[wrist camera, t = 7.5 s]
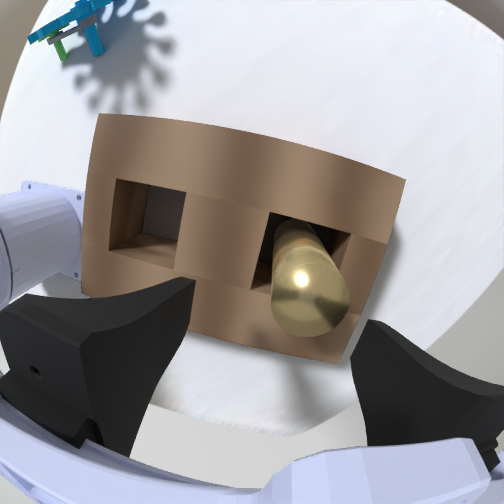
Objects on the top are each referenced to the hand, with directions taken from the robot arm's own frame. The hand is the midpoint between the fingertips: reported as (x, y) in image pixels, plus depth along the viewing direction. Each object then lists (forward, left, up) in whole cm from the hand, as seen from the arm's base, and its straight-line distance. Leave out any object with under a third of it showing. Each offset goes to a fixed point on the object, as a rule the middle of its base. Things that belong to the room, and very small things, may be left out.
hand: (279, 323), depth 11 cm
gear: (-20, +17, -10) cm, 27 cm away
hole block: (-4, +1, -10) cm, 11 cm away
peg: (+1, +1, -10) cm, 10 cm away
